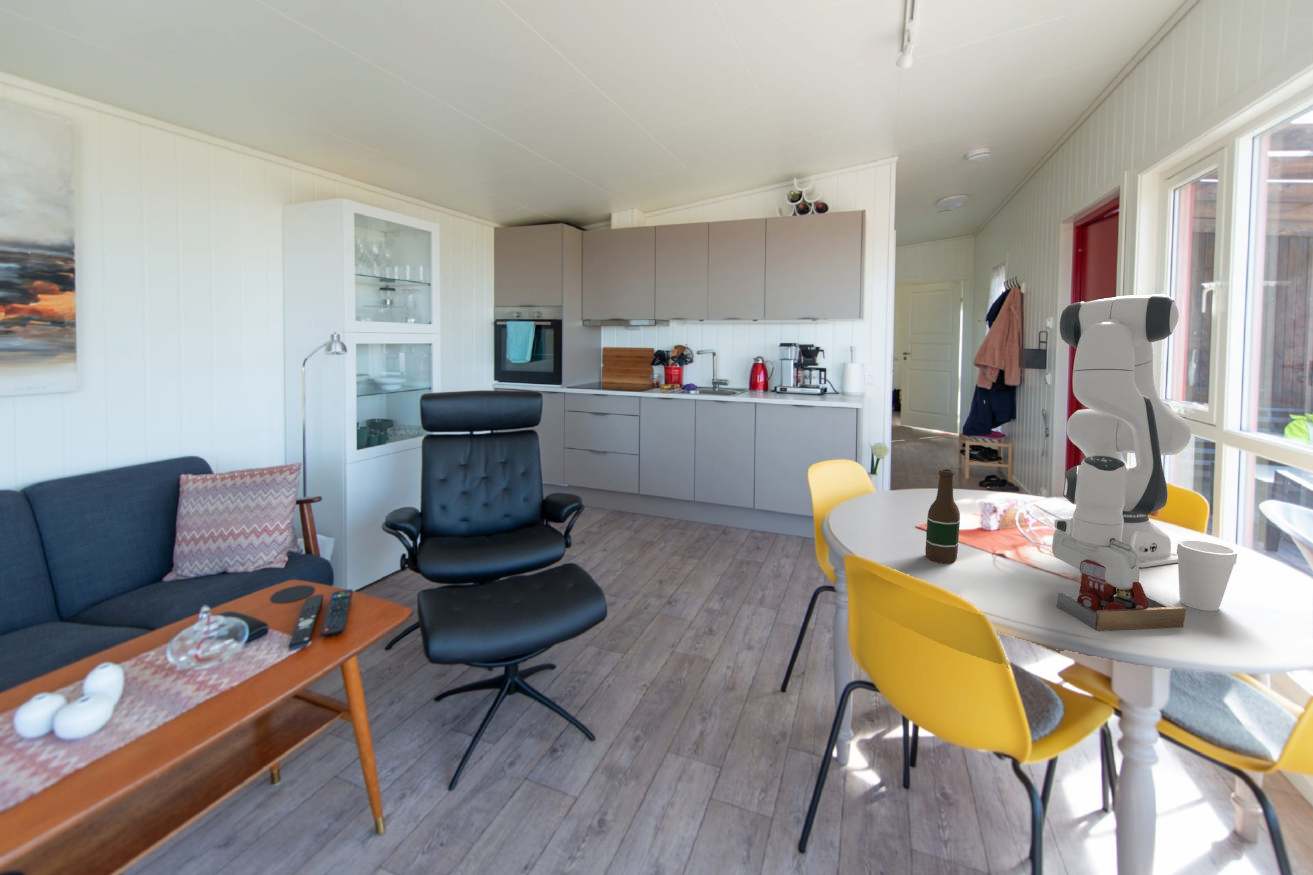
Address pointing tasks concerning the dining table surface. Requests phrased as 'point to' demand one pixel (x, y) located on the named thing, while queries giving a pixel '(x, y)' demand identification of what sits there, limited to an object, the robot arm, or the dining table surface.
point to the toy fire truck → (1107, 590)
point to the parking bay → (1125, 615)
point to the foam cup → (1204, 573)
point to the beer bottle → (943, 522)
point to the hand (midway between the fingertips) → (1089, 592)
